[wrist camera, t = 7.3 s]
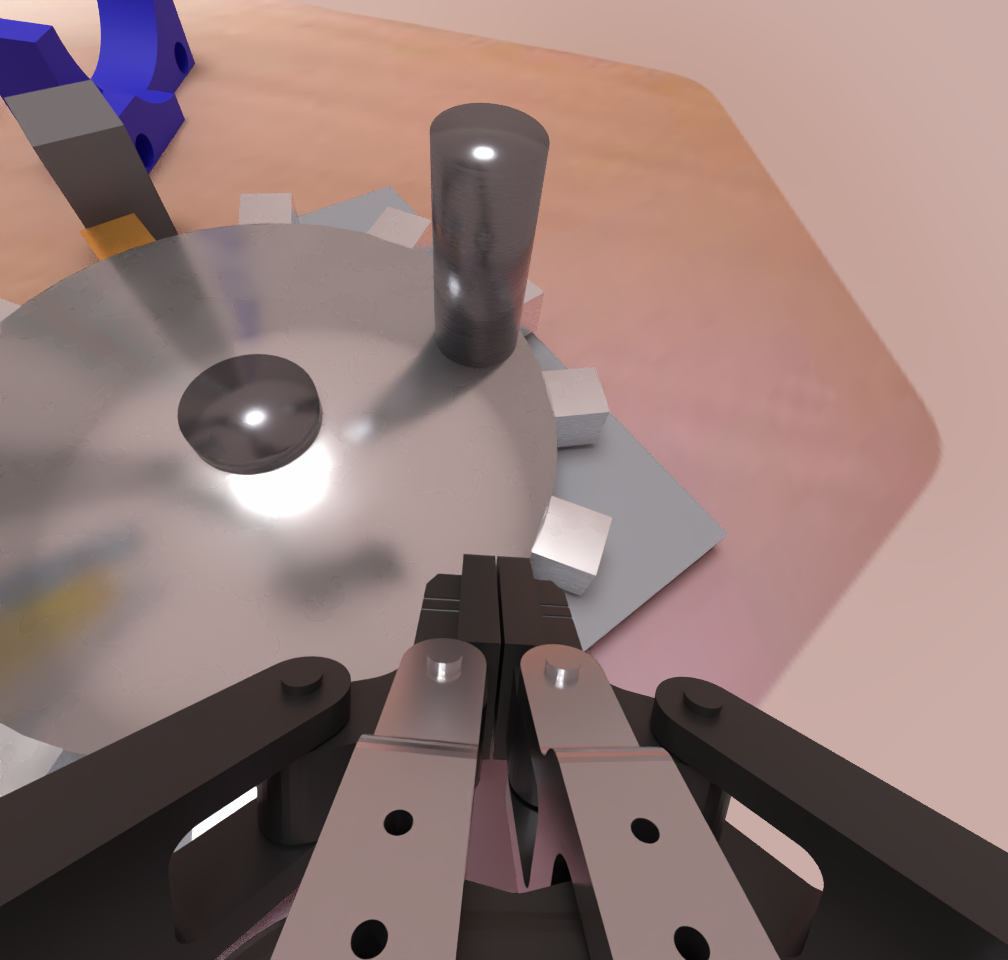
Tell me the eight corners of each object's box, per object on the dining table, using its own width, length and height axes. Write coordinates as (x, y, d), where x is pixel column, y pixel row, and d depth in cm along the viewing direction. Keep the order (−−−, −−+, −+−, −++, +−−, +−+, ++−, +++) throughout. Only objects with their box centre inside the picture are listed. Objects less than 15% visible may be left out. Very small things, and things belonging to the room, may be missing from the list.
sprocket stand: (-172, 323, 21) (-374, 175, 16) (348, 162, 29) (327, 30, 24) (38, 1095, 12) (-279, 1343, 7) (713, 546, 20) (807, 466, 15)
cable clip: (144, 187, 27) (72, 47, 22) (52, 175, 27) (-41, 31, 22) (220, 70, 33) (178, -62, 28) (146, 59, 33) (89, -76, 28)
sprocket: (-358, 651, 14) (-1370, 492, 6) (186, 180, 25) (69, -89, 17) (458, 1020, 12) (481, 1466, 4) (656, 333, 23) (763, 107, 15)
